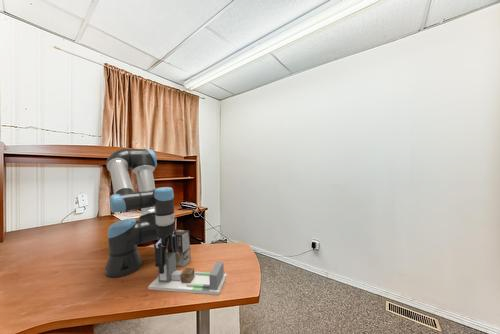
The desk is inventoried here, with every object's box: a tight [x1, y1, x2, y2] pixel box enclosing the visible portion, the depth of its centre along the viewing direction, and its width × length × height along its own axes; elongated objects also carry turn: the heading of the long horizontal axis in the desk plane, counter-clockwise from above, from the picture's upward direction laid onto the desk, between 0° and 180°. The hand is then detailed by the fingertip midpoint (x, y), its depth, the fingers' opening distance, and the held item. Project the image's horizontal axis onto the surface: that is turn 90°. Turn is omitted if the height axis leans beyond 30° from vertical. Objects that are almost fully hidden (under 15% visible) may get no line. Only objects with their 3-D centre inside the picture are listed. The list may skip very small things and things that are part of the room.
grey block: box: [157, 251, 182, 282], centre depth 86 cm, size 9×6×10 cm, turn 82°
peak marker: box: [181, 267, 195, 283], centre depth 85 cm, size 4×4×4 cm
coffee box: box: [174, 228, 192, 268], centre depth 101 cm, size 9×6×16 cm
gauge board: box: [148, 261, 227, 296], centre depth 85 cm, size 30×12×7 cm, turn 82°
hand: (167, 275), depth 86 cm, fingers closed on grey block, 6 cm apart
